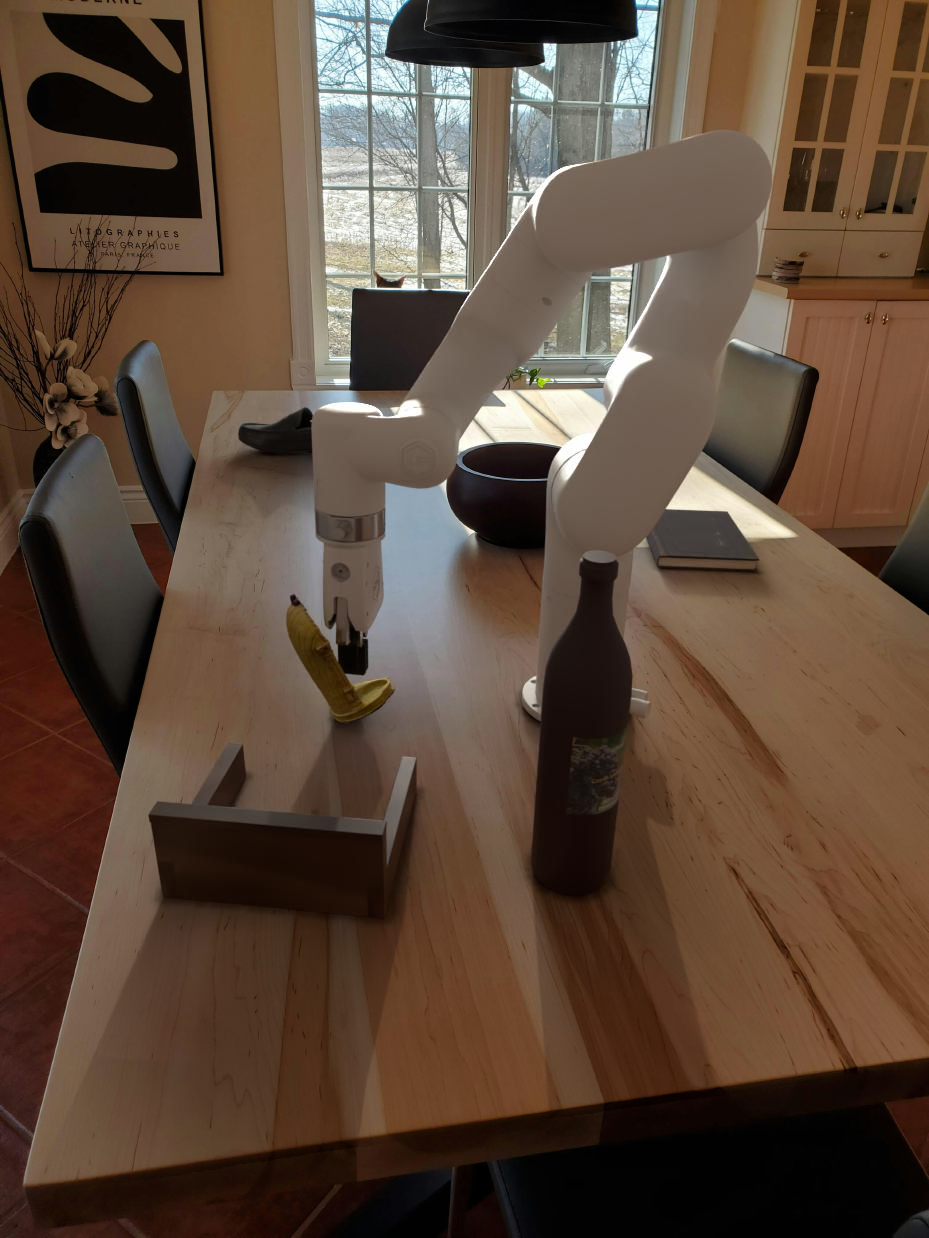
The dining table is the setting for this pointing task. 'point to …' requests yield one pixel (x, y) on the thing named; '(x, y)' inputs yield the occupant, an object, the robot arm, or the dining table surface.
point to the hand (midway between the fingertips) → (353, 670)
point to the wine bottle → (582, 739)
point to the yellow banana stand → (332, 670)
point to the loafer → (280, 434)
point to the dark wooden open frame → (279, 848)
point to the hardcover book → (700, 542)
